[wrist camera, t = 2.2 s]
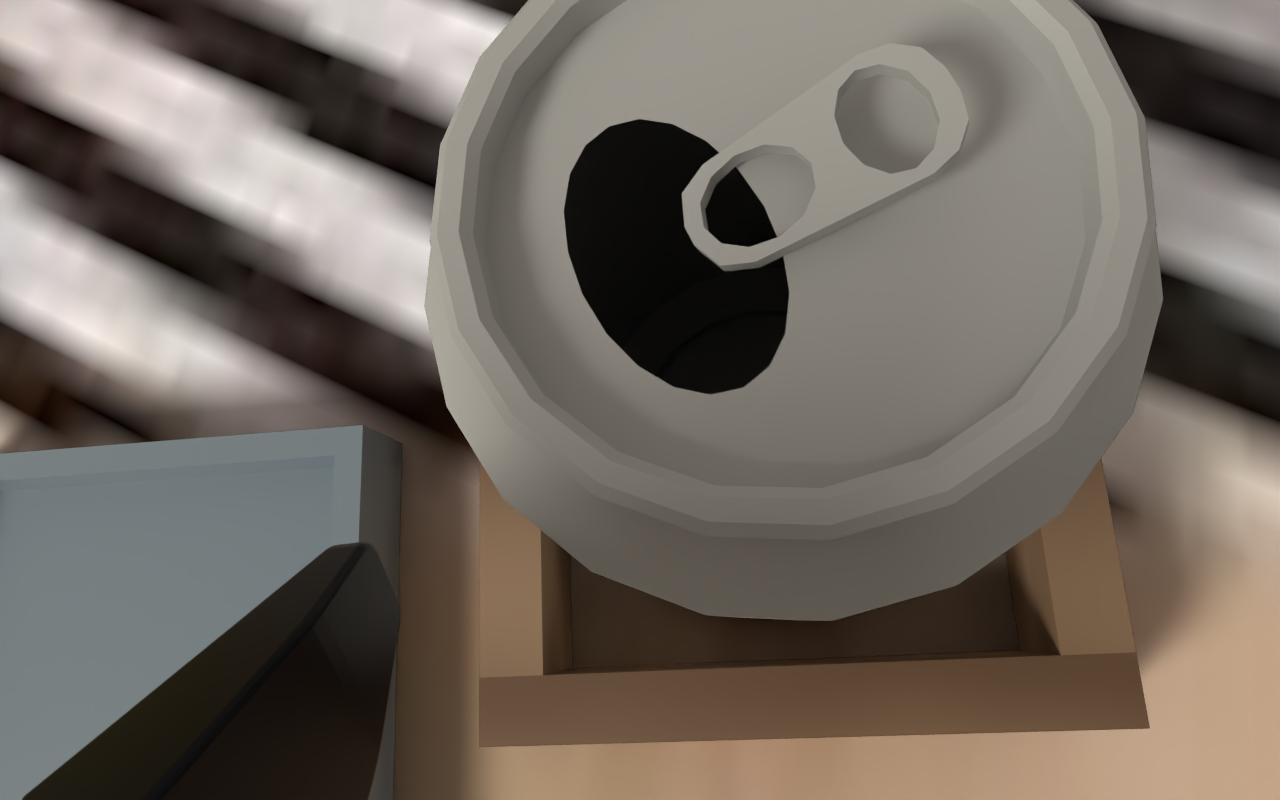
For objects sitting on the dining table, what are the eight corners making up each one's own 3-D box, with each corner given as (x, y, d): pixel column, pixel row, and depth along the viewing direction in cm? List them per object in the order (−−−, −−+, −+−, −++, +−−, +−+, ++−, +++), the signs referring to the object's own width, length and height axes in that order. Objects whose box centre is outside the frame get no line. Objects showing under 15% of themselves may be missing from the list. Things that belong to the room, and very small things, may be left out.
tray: (388, 996, 17) (340, 1043, 15) (-107, 991, 19) (-208, 1033, 17) (401, 443, 20) (363, 424, 18) (-30, 476, 22) (-108, 462, 20)
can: (550, 370, 20) (249, 31, 8) (845, 226, 20) (948, -318, 8) (688, 682, 18) (540, 795, 6) (1020, 525, 18) (1485, 350, 6)
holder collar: (1095, 712, 17) (1149, 728, 14) (517, 729, 18) (479, 747, 16) (1006, 175, 20) (1038, 113, 17) (513, 228, 21) (480, 178, 19)
